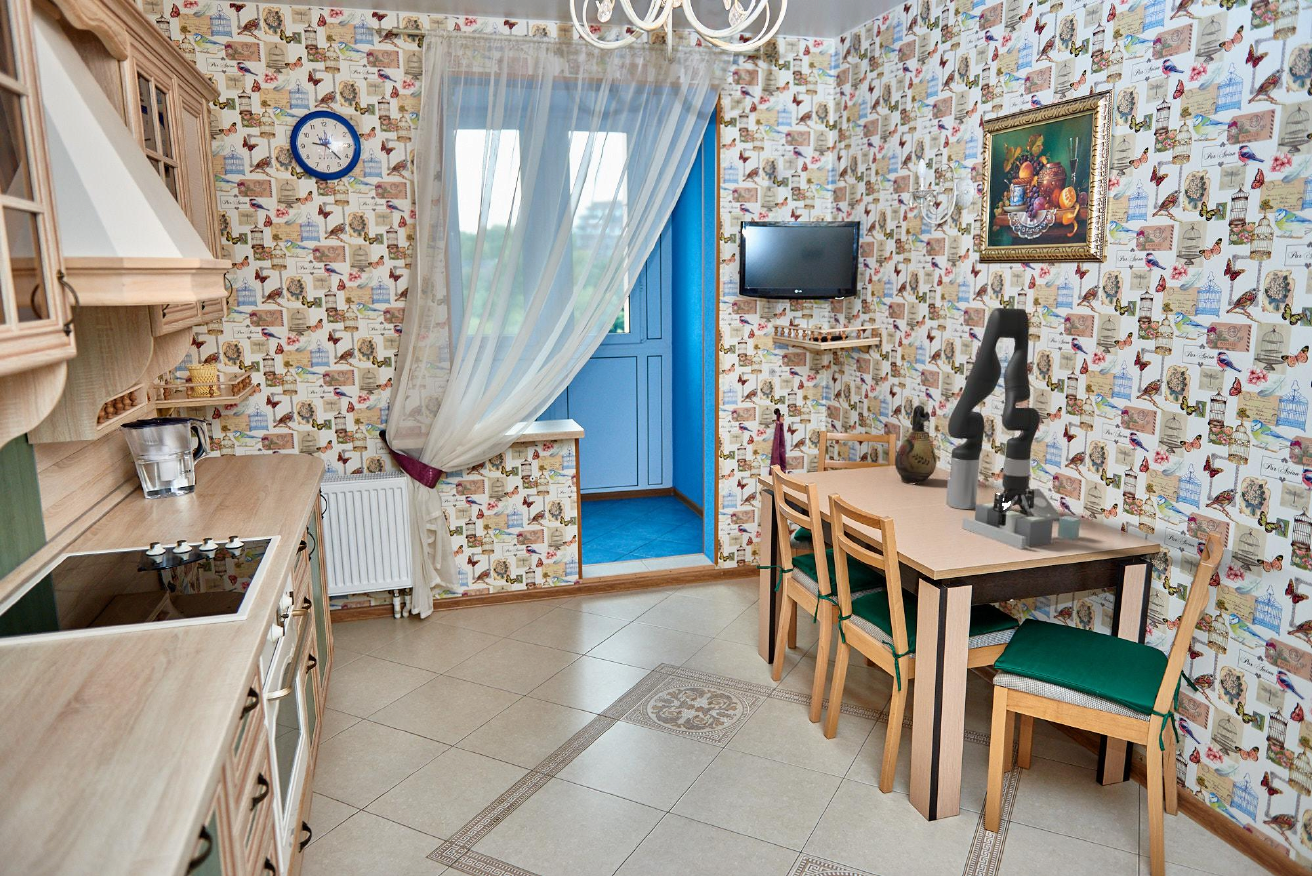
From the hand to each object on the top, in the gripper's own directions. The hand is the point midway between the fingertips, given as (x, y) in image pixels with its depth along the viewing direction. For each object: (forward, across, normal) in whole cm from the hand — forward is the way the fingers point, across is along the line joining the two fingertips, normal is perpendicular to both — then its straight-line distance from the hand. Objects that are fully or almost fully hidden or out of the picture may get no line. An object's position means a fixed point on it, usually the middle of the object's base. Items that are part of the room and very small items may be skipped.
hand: (1012, 523), depth 271 cm
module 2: (+4, -15, +8) cm, 17 cm away
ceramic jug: (+4, -23, -72) cm, 76 cm away
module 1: (+4, 0, 0) cm, 4 cm away
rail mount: (+4, +2, 0) cm, 4 cm away
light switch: (+4, -27, -14) cm, 31 cm away
